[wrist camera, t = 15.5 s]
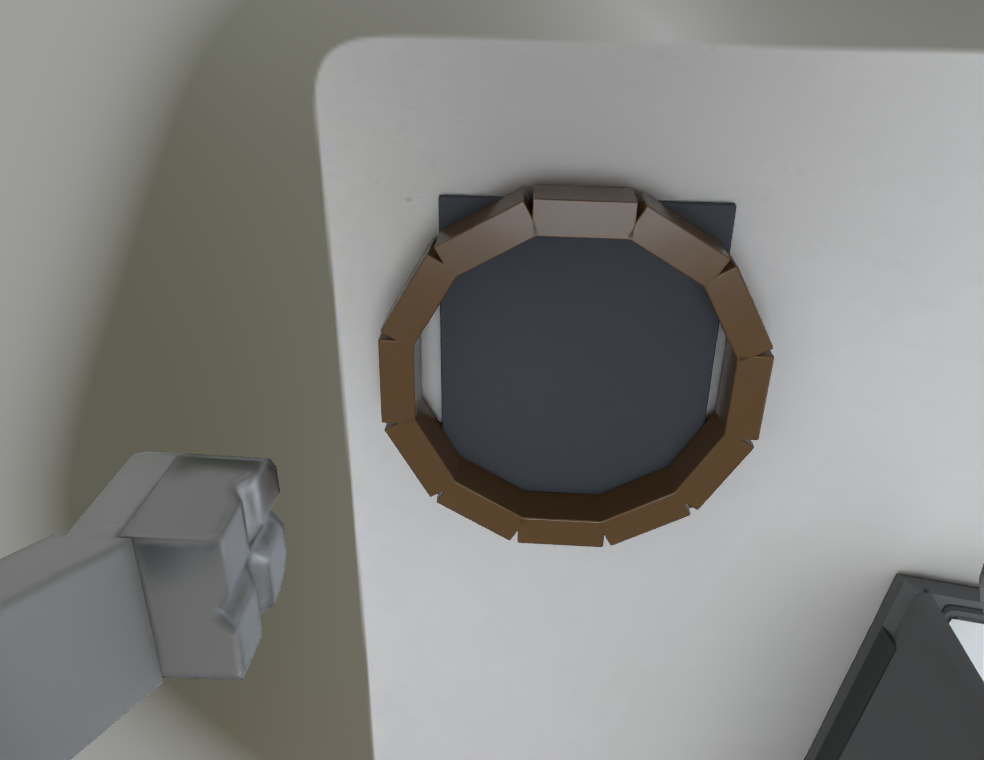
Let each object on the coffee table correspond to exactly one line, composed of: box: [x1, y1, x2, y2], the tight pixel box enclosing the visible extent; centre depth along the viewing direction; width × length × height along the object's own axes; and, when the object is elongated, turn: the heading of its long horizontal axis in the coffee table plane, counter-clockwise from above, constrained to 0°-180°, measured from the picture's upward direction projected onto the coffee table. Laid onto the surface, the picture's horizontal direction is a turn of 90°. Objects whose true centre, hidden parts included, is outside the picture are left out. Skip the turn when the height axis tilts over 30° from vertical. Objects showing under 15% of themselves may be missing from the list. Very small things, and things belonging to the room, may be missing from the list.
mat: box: [439, 195, 736, 508], centre depth 41 cm, size 16×13×1 cm
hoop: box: [378, 185, 774, 547], centre depth 40 cm, size 18×18×2 cm
